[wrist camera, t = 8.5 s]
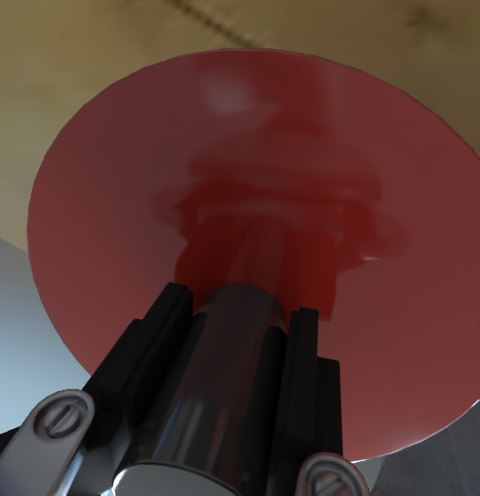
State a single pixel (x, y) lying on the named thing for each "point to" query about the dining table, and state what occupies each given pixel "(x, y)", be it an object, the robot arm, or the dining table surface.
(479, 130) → the dining table surface
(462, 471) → the moka pot
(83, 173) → the lid
